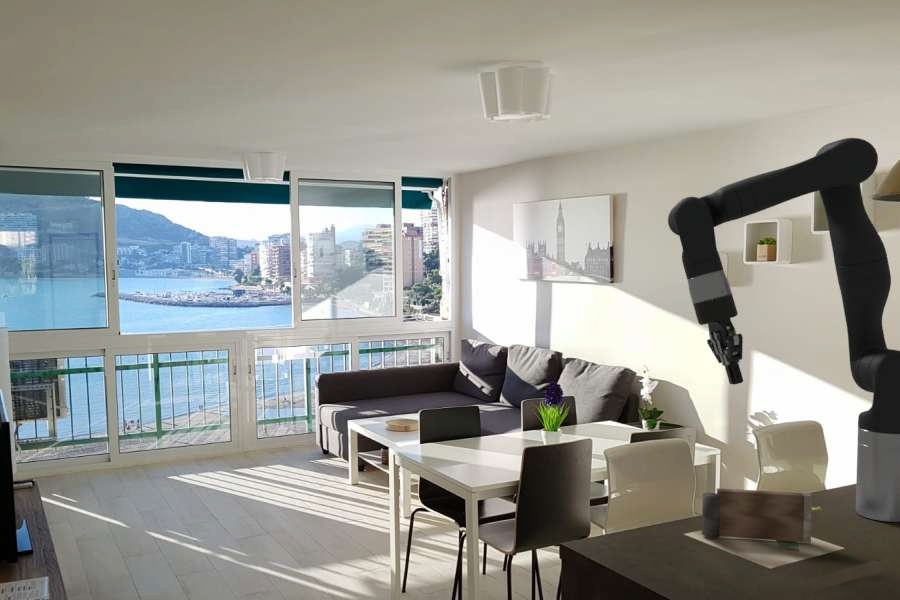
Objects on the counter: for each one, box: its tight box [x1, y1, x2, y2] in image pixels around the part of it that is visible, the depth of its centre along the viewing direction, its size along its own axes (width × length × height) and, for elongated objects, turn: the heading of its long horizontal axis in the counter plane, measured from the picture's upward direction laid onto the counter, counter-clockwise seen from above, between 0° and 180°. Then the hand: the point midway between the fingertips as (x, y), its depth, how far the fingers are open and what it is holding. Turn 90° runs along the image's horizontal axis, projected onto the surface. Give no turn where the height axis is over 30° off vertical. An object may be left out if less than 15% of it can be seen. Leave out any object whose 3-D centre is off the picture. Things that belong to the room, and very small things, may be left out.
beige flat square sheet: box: [683, 529, 845, 569], centre depth 133 cm, size 19×18×2 cm
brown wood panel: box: [701, 488, 813, 543], centre depth 133 cm, size 18×3×8 cm, turn 80°
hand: (736, 383), depth 148 cm, fingers closed
